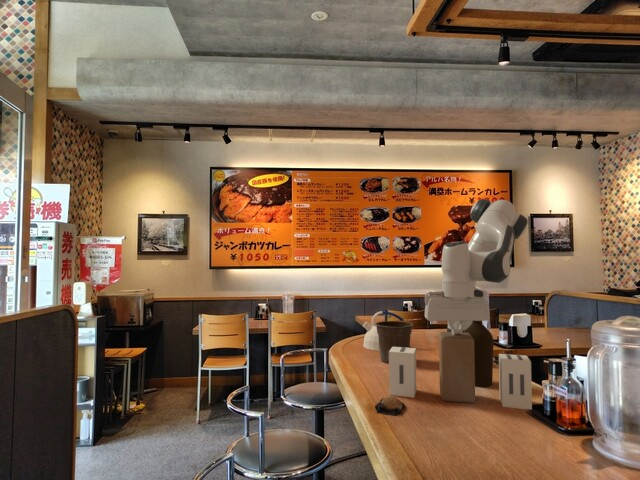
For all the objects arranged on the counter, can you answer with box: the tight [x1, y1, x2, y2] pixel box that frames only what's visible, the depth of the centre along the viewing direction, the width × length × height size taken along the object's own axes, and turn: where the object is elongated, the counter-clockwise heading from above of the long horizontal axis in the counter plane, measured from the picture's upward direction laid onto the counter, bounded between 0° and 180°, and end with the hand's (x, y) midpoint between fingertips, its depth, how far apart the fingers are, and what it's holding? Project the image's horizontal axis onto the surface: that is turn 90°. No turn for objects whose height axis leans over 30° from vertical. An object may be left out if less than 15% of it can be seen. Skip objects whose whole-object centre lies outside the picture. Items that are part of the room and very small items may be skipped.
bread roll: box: [374, 396, 406, 417], centre depth 122 cm, size 11×8×4 cm
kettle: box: [362, 310, 404, 352], centre depth 208 cm, size 20×21×18 cm
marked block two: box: [498, 353, 533, 411], centre depth 126 cm, size 8×8×14 cm
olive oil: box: [464, 321, 495, 388], centre depth 148 cm, size 11×11×25 cm
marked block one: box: [388, 347, 417, 398], centre depth 137 cm, size 8×8×14 cm
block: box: [438, 331, 476, 404], centre depth 132 cm, size 10×10×20 cm
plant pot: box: [375, 320, 414, 364], centre depth 179 cm, size 16×16×16 cm
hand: (457, 334), depth 132 cm, fingers closed, pressing on block
